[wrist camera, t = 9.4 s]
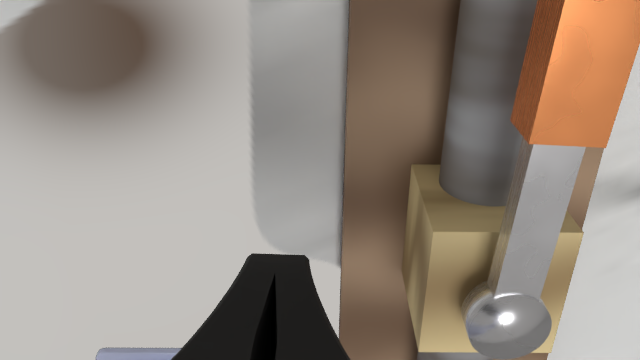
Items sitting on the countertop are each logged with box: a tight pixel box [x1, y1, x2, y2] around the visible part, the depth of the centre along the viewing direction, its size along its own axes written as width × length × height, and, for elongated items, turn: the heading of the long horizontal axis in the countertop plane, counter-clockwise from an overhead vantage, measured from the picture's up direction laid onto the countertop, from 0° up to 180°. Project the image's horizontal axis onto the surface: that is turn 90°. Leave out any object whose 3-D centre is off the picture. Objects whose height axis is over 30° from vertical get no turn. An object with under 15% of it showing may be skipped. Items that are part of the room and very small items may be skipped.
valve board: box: [339, 0, 604, 360], centre depth 22 cm, size 24×10×6 cm, turn 0°
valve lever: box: [461, 0, 640, 360], centre depth 16 cm, size 13×3×2 cm, turn 177°
